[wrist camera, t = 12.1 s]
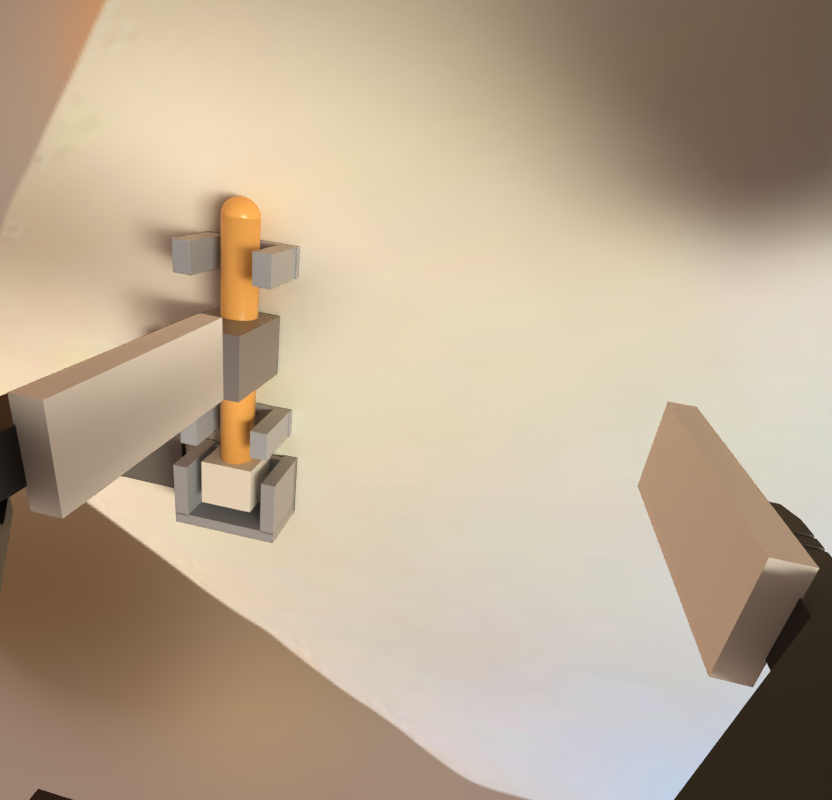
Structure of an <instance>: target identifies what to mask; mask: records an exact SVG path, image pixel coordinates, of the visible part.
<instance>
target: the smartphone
mask: <svg viewBox="0 0 832 800" xmlns="http://www.w3.org/2000/svg"><path fill="white" fill-rule="evenodd" d="M185 446H186V445H185V444H184V443H181V432H179V433H178V434H177V435H175V436H174V437H173V438H171V439H170V440H169V441H167V442H166V443H165V444H163V445H162V446H161V447H159V448H158V449H156V450H155V451H154V452H152V453H151V454H150V455H148V456H147V457H146V458H144V459H143V460H142V461H140V462H139V463H137V464H136V465H135V466H133V467H132V468H131V469H129V470H128V471H127V472H125V473H124V474H123V475H121V476H124V477H128V478H133V479H137V480H142V481H146V482H151V483H155V484H160V485H164V486H169V487H173V488H174V470H173V465H174V464H175V463H176V462H177V461H178V460H180V459H181V458H182V457H183V456H184V455H186V448H185Z"/></svg>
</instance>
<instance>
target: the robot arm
mask: <svg viewBox="0 0 832 800" xmlns="http://www.w3.org/2000/svg"><path fill="white" fill-rule="evenodd" d="M221 401H223V337H222V318H221V317H216V316H211V315H205V314H200V313H198V314H196V315H193V316H191V317H189V318H186V319H184V320H181V321H179V322H176V323H174V324H172V325H169V326H167V327H164V328H162V329H160V330H157V331H155V332H152V333H150V334H148V335H145V336H143V337H140V338H138V339H135V340H133V341H131V342H128V343H126V344H123V345H121V346H119V347H116V348H114V349H111V350H109V351H106V352H104V353H102V354H99V355H97V356H94V357H92V358H90V359H87V360H85V361H82V362H80V363H77V364H75V365H73V366H70V367H68V368H65V369H63V370H61V371H58V372H56V373H53V374H51V375H49V376H46V377H44V378H41V379H39V380H36V381H34V382H32V383H29V384H27V385H24V386H22V387H20V388H17V389H15V390H12V391H10V392H7V394H4V395H2V396H0V590H1V584H2V577H3V571H4V565H5V559H6V552H7V546H8V540H9V533H10V527H11V521H12V513H13V511H12V505H11V501H10V496H11V495H13V494H15V493H16V492H18V491H19V490H21V489H23V488H24V487H26V491H27V496H28V502H29V507H30V511H34V512H37V513H41V514H45V515H49V516H54V517H58V518H62V519H63V518H64V517H65V516H67V515H68V514H70V513H71V512H72V511H74V510H75V509H76V508H78V507H79V506H81V505H82V504H83V503H85V502H86V501H87V500H89V499H90V498H91V497H93V496H94V495H95V494H97V493H98V492H100V491H101V490H102V489H104V488H105V487H106V486H108V485H109V484H110V483H112V482H113V481H114V480H116V479H117V478H118V477H120V476H121V475H123V474H124V473H125V472H127V471H128V470H129V469H131V468H132V467H133V466H135V465H136V464H137V463H139V462H140V461H142V460H143V459H144V458H146V457H147V456H148V455H150V454H151V453H152V452H154V451H155V450H156V449H158V448H159V447H161V446H162V445H163V444H165V443H166V442H167V441H169V440H170V439H171V438H173V437H174V436H175V435H177V434H178V433H179V432H181V431H182V430H184V429H185V428H186V427H188V426H189V425H190V424H192V423H193V422H194V421H196V420H197V419H198V418H200V417H201V416H203V415H204V414H205V413H207V412H208V411H209V410H211V409H212V408H213V407H215V406H216V405H217V404H219V403H220V402H221ZM638 488H639V491H640V493H641V496H642V499H643V501H644V504H645V507H646V510H647V512H648V515H649V518H650V520H651V523H652V526H653V528H654V531H655V534H656V536H657V539H658V542H659V544H660V547H661V550H662V552H663V555H664V558H665V560H666V563H667V566H668V568H669V571H670V574H671V577H672V579H673V582H674V585H675V587H676V590H677V593H678V595H679V598H680V601H681V603H682V606H683V609H684V611H685V614H686V617H687V619H688V622H689V625H690V627H691V630H692V633H693V635H694V638H695V641H696V644H697V646H698V649H699V652H700V654H701V657H702V660H703V662H704V665H705V668H706V670H707V673H708V676H709V677H713V678H717V679H721V680H725V681H729V682H734V683H738V684H742V685H746V686H750V687H753V686H754V684H755V682H756V681H757V679H758V677H759V675H760V673H761V672H762V670H763V668H764V666H765V665H766V663H767V664H768V666H769V668H770V670H771V671H770V673H769V674H768V675H767V677H766V678H765V679H764V681H763V682H762V683H761V685H760V686H759V687H758V689H757V690H756V691H755V693H754V694H753V695H752V697H751V698H750V699H749V701H748V702H747V703H746V705H745V706H744V707H743V709H742V710H741V711H740V713H739V714H738V715H737V717H736V718H735V719H734V721H733V722H732V723H731V725H730V726H729V727H728V729H727V730H726V731H725V733H724V734H723V735H722V737H721V738H720V739H719V741H718V742H717V743H716V745H715V746H714V747H713V749H712V750H711V751H710V753H709V754H708V755H707V757H706V758H705V759H704V761H703V762H702V763H701V765H700V766H699V767H698V769H697V770H696V771H695V773H694V774H693V775H692V777H691V778H690V779H689V780H688V782H687V783H686V784H685V786H684V787H683V788H682V790H681V791H680V792H679V794H678V795H677V796H676V798H675V799H674V800H832V557H831V556H830V555H829V553H828V552H824V550H825V549H824V547H823V546H822V545H821V544H820V542H819V541H818V540H817V539H814V535H813V534H812V533H811V531H810V530H809V529H808V528H807V526H806V525H805V524H804V523H803V522H802V520H801V519H799V518H798V517H797V516H795V515H794V514H793V513H791V512H790V511H789V510H787V509H786V508H785V507H783V506H782V505H780V504H777V503H772V502H769V501H768V500H767V499H766V497H765V496H764V495H763V494H762V492H761V491H760V490H759V488H758V487H757V486H756V484H755V483H754V482H753V480H752V479H751V478H750V476H749V475H748V474H747V472H746V471H745V470H744V469H743V467H742V466H741V465H740V463H739V462H738V461H737V459H736V458H735V457H734V455H733V454H732V453H731V451H730V450H729V449H728V448H727V446H726V445H725V444H724V442H723V441H722V440H721V438H720V437H719V436H718V434H717V433H716V432H715V430H714V429H713V428H712V426H711V425H710V424H709V423H708V421H707V420H706V419H705V417H704V416H703V415H702V413H701V412H700V411H699V409H698V408H697V407H694V406H689V405H684V404H678V403H673V402H667V405H666V408H665V411H664V414H663V416H662V419H661V422H660V425H659V428H658V430H657V433H656V436H655V439H654V442H653V444H652V447H651V450H650V453H649V456H648V459H647V461H646V464H645V467H644V470H643V473H642V475H641V478H640V481H639V484H638ZM30 800H72V799H69V798H66V797H62V796H59V795H56V794H53V793H50V792H46V791H43V790H40V789H38V790H37V791H36V792H35V793H34V795H33V796H32V797H31V799H30Z"/></svg>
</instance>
